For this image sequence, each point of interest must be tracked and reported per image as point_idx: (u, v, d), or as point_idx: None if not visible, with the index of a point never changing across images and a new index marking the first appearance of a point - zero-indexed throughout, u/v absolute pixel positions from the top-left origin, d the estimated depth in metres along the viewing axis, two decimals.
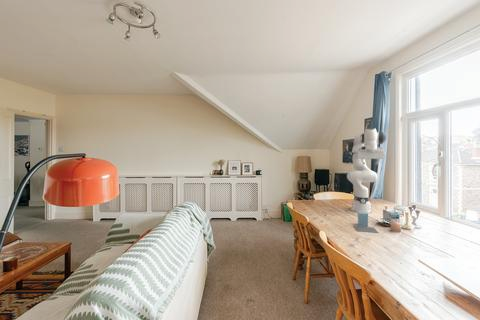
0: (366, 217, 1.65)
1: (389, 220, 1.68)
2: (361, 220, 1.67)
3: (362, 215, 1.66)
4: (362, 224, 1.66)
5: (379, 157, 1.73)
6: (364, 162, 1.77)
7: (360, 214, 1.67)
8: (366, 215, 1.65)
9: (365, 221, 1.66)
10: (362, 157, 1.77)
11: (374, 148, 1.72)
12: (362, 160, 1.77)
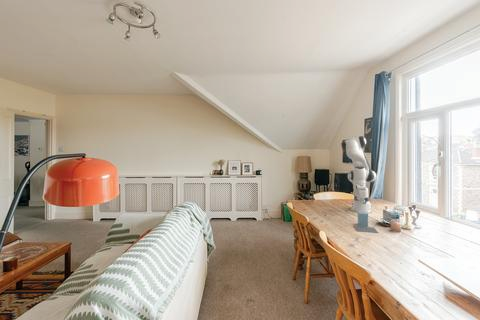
0: (366, 217, 1.65)
1: (389, 220, 1.68)
2: (361, 220, 1.67)
3: (362, 215, 1.66)
4: (362, 224, 1.66)
5: None
6: (362, 201, 1.74)
7: (360, 214, 1.67)
8: (366, 215, 1.65)
9: (365, 221, 1.66)
10: None
11: None
12: (362, 200, 1.73)
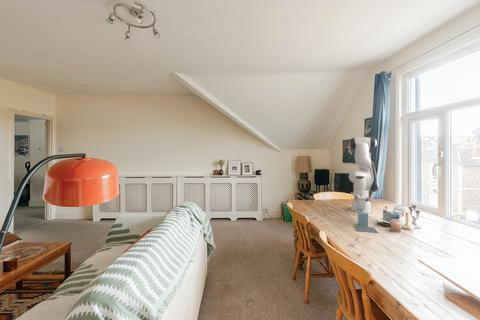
0: (366, 217, 1.65)
1: (389, 220, 1.68)
2: (361, 220, 1.67)
3: (362, 215, 1.66)
4: (362, 224, 1.66)
5: None
6: (361, 211, 1.75)
7: (360, 214, 1.67)
8: (366, 215, 1.65)
9: (365, 221, 1.66)
10: None
11: None
12: (362, 210, 1.73)
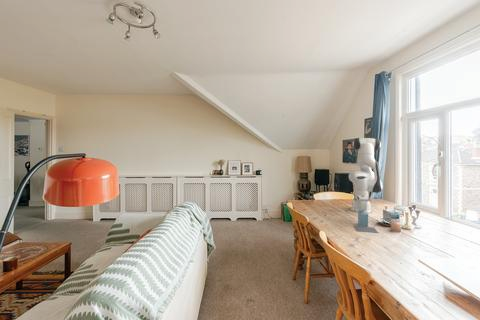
0: (366, 217, 1.65)
1: (389, 220, 1.68)
2: (361, 220, 1.66)
3: (362, 215, 1.65)
4: (362, 224, 1.66)
5: None
6: None
7: (360, 214, 1.66)
8: (366, 215, 1.64)
9: (365, 221, 1.65)
10: None
11: None
12: (364, 211, 1.69)
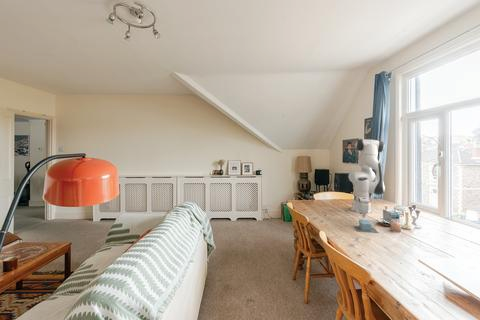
0: None
1: (389, 220, 1.68)
2: None
3: None
4: None
5: None
6: (364, 215, 1.66)
7: None
8: None
9: None
10: None
11: None
12: (365, 213, 1.64)
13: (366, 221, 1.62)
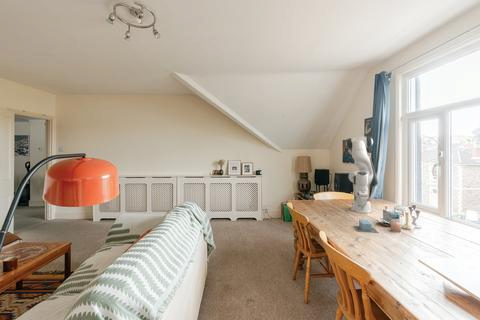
0: None
1: (389, 220, 1.68)
2: None
3: None
4: None
5: None
6: None
7: None
8: None
9: None
10: None
11: None
12: (364, 206, 1.70)
13: (366, 221, 1.62)
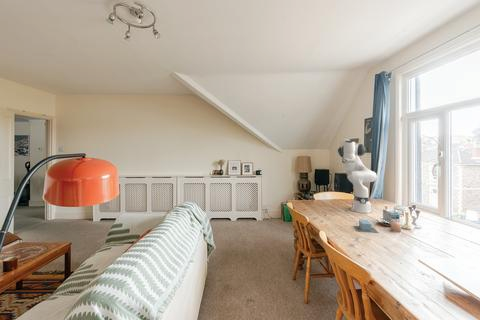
0: None
1: (389, 220, 1.68)
2: None
3: None
4: None
5: None
6: (351, 174, 1.78)
7: None
8: None
9: None
10: None
11: None
12: (351, 172, 1.77)
13: (366, 221, 1.62)
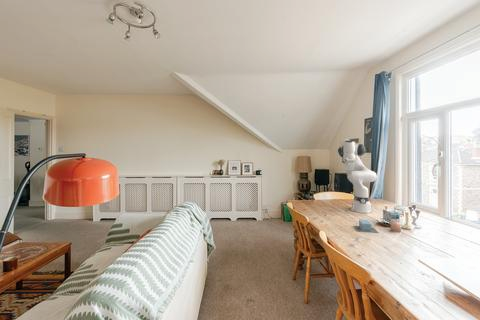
0: None
1: (389, 220, 1.68)
2: None
3: None
4: None
5: None
6: (350, 174, 1.78)
7: None
8: None
9: None
10: None
11: None
12: (351, 172, 1.77)
13: (366, 221, 1.62)
